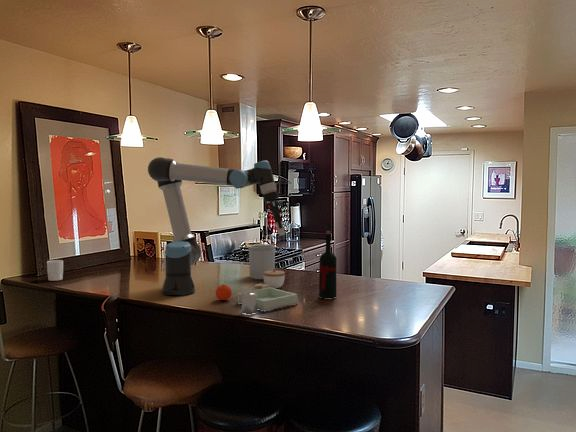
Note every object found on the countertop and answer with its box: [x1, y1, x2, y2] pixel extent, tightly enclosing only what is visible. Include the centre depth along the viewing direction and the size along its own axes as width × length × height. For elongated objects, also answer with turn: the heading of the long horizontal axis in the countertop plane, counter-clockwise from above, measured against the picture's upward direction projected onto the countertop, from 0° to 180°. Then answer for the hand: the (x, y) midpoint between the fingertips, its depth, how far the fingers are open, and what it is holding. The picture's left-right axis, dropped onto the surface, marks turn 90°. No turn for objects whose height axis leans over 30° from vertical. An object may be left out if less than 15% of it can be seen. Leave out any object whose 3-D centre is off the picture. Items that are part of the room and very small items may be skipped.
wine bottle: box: [318, 230, 337, 298], centre depth 202 cm, size 8×10×30 cm
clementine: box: [215, 284, 233, 301], centre depth 199 cm, size 8×7×7 cm
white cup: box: [46, 259, 64, 282], centre depth 242 cm, size 8×8×10 cm
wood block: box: [253, 283, 269, 290], centre depth 208 cm, size 5×5×5 cm
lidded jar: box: [263, 268, 286, 289], centre depth 224 cm, size 11×11×9 cm
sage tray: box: [237, 287, 298, 310], centre depth 192 cm, size 18×18×4 cm
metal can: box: [241, 291, 258, 314], centre depth 178 cm, size 6×6×8 cm
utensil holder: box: [247, 243, 276, 280], centre depth 251 cm, size 15×15×18 cm
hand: (281, 234), depth 221 cm, fingers open, 13 cm apart
